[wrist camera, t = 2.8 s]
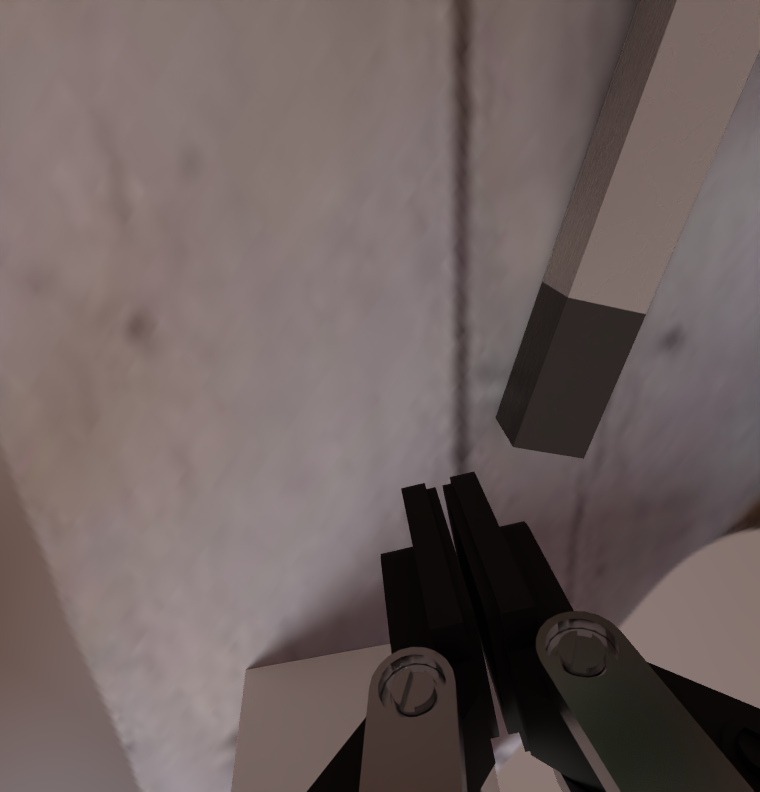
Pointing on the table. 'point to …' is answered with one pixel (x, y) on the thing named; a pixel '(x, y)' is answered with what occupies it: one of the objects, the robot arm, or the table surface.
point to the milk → (304, 719)
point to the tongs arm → (627, 213)
